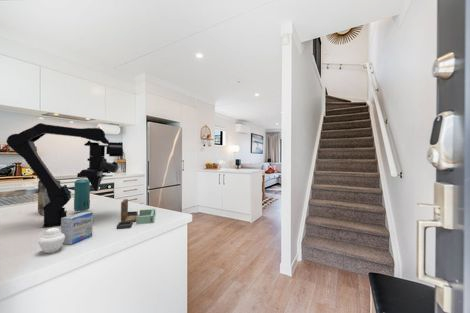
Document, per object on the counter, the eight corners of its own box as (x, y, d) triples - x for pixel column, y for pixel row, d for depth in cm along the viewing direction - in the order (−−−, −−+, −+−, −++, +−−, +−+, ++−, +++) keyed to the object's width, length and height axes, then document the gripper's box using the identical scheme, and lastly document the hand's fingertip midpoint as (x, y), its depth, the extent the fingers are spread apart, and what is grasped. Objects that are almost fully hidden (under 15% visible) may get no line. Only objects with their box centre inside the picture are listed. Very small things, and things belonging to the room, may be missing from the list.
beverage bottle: (83, 214, 99) (84, 173, 99) (69, 214, 99) (70, 173, 99) (92, 210, 106) (93, 172, 106) (80, 210, 106) (81, 172, 106)
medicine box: (71, 245, 66) (71, 218, 66) (60, 243, 67) (60, 217, 67) (92, 236, 74) (93, 212, 74) (82, 234, 75) (83, 211, 75)
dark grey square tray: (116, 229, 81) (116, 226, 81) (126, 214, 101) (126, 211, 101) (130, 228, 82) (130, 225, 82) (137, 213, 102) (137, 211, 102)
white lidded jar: (56, 245, 66) (56, 223, 66) (69, 248, 64) (70, 225, 64) (32, 253, 60) (32, 230, 60) (46, 257, 58) (47, 232, 58)
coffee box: (36, 213, 100) (37, 180, 100) (53, 210, 105) (54, 179, 105) (43, 216, 95) (43, 181, 95) (60, 213, 101) (61, 180, 100)
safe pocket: (136, 224, 87) (136, 217, 87) (139, 216, 99) (139, 209, 99) (153, 222, 89) (153, 215, 89) (155, 215, 101) (155, 208, 101)
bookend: (120, 223, 87) (121, 202, 87) (123, 218, 94) (124, 199, 94) (148, 221, 91) (148, 201, 91) (149, 217, 98) (150, 198, 98)
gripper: (110, 156, 86) (109, 194, 86) (122, 156, 104) (121, 187, 104) (79, 156, 83) (78, 194, 83) (97, 156, 100) (96, 187, 100)
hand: (96, 190), depth 92 cm, fingers closed
